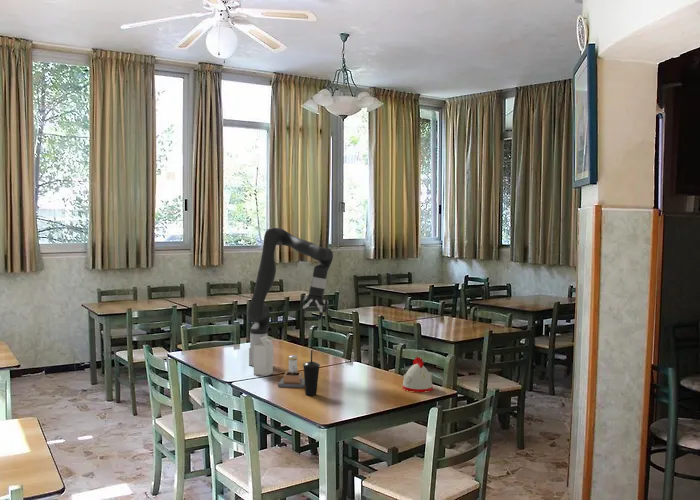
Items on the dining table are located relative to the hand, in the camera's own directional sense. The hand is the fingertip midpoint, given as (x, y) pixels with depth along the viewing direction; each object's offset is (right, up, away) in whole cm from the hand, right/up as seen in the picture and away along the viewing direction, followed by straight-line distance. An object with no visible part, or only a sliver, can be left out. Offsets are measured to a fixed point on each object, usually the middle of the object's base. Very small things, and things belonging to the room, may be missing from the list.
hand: (311, 317), depth 318 cm
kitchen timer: (+51, -31, -23) cm, 64 cm away
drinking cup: (+2, -31, -37) cm, 48 cm away
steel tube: (-8, -28, -19) cm, 35 cm away
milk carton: (-25, -29, 0) cm, 38 cm away
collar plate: (-8, -30, -19) cm, 36 cm away
